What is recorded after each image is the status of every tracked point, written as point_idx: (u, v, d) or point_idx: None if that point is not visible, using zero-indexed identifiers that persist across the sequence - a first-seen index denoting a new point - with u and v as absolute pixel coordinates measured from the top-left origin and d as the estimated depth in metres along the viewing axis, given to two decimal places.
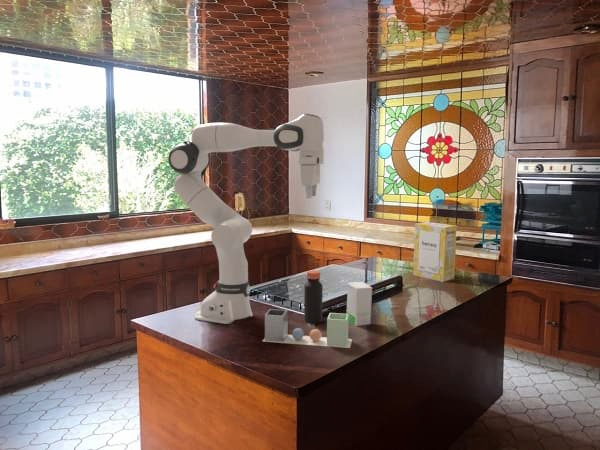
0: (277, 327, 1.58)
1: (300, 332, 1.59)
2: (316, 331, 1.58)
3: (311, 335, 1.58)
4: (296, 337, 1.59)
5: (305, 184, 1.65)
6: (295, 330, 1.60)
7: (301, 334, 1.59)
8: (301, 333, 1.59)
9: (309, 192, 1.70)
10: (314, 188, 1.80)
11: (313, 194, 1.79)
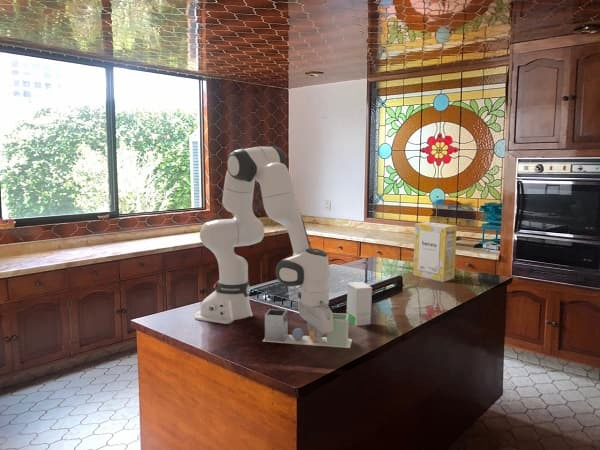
0: (277, 327, 1.58)
1: (300, 332, 1.59)
2: (316, 331, 1.58)
3: (311, 335, 1.58)
4: (296, 337, 1.59)
5: None
6: (295, 330, 1.60)
7: (301, 334, 1.59)
8: (301, 333, 1.59)
9: None
10: None
11: None
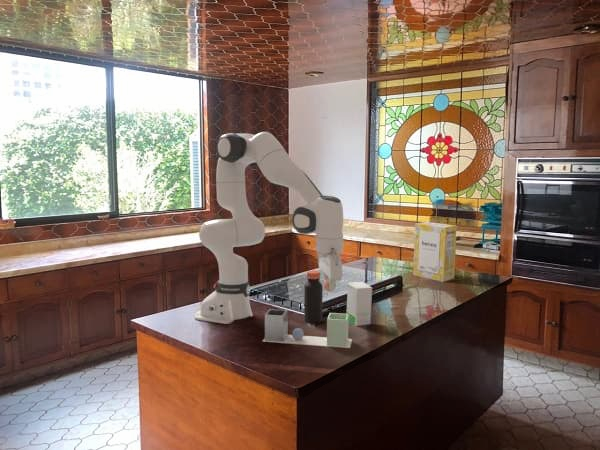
0: (277, 327, 1.58)
1: (300, 332, 1.59)
2: None
3: (324, 284, 1.55)
4: (296, 337, 1.59)
5: None
6: (295, 330, 1.60)
7: (301, 334, 1.59)
8: (301, 333, 1.59)
9: None
10: None
11: None
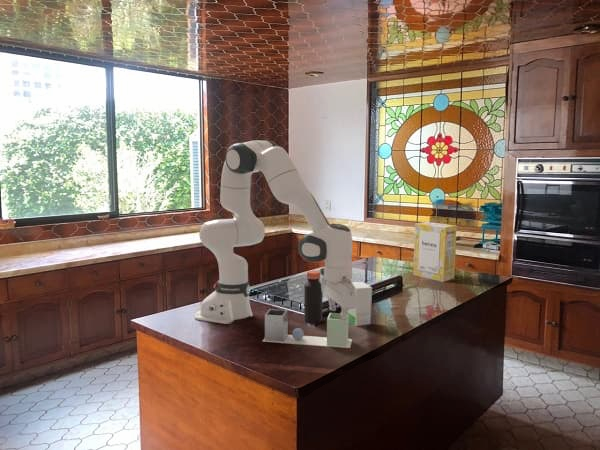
0: (277, 327, 1.58)
1: (300, 332, 1.59)
2: None
3: None
4: (296, 337, 1.59)
5: None
6: (295, 330, 1.60)
7: (301, 334, 1.59)
8: (301, 333, 1.59)
9: None
10: None
11: None
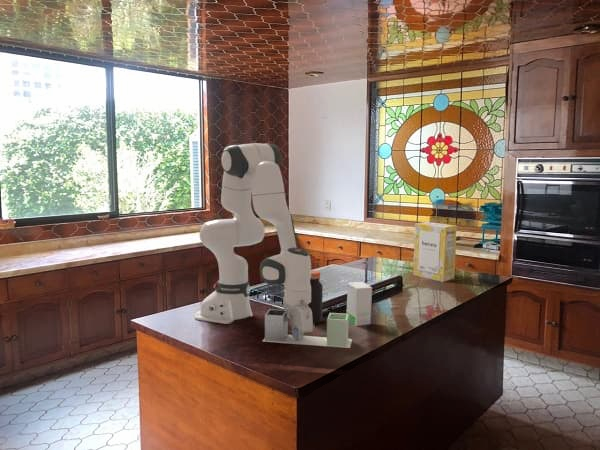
0: (277, 327, 1.58)
1: None
2: None
3: None
4: (296, 337, 1.59)
5: None
6: (295, 330, 1.60)
7: None
8: None
9: None
10: None
11: None
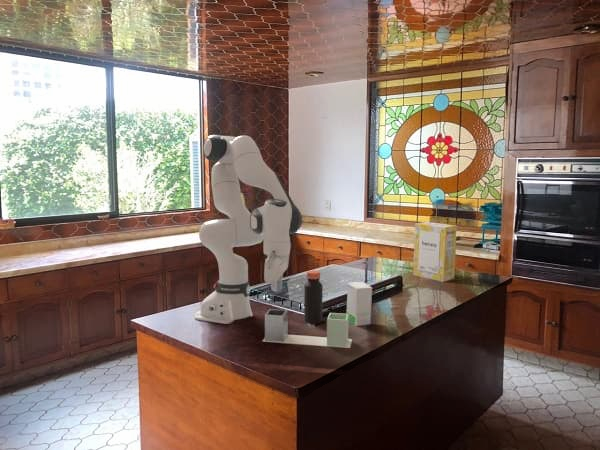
0: (277, 327, 1.58)
1: None
2: None
3: None
4: None
5: None
6: None
7: None
8: None
9: None
10: None
11: None
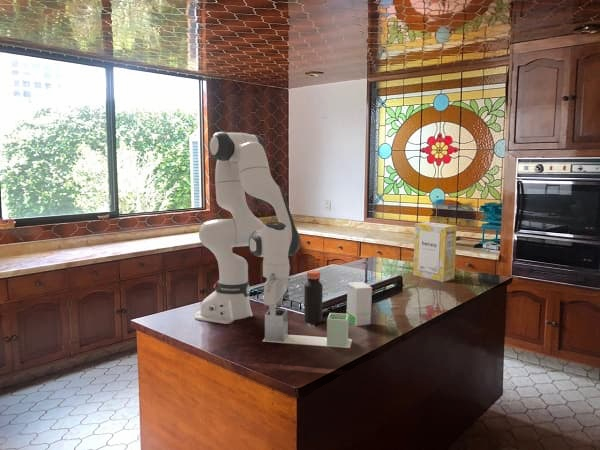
0: (277, 327, 1.58)
1: None
2: None
3: None
4: None
5: None
6: None
7: None
8: None
9: None
10: None
11: None
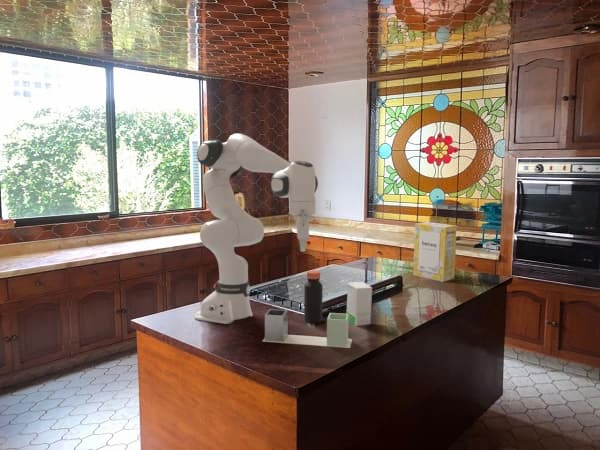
0: (277, 327, 1.58)
1: None
2: None
3: None
4: None
5: None
6: None
7: None
8: None
9: None
10: None
11: None
